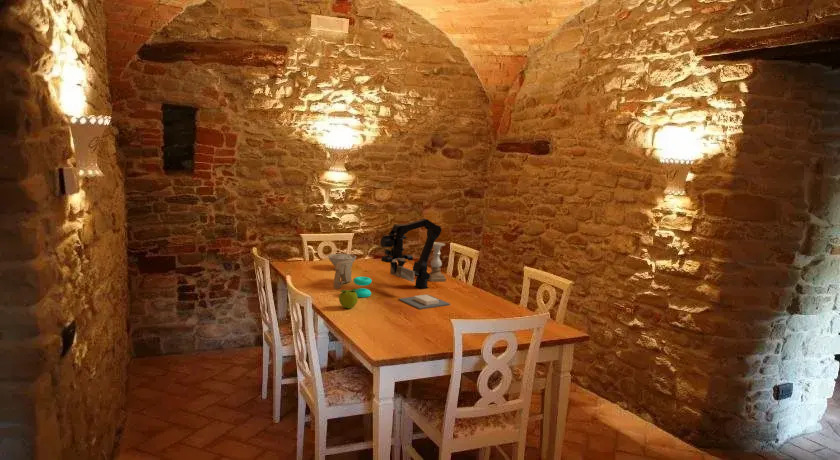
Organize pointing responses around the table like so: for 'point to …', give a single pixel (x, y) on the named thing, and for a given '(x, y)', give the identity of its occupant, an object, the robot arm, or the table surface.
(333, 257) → the bowl
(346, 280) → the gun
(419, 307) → the grey square plate
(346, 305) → the fruit
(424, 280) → the robot arm
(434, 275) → the candle holder
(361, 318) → the table surface
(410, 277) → the brown upright panel
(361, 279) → the donuts
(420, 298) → the tile
